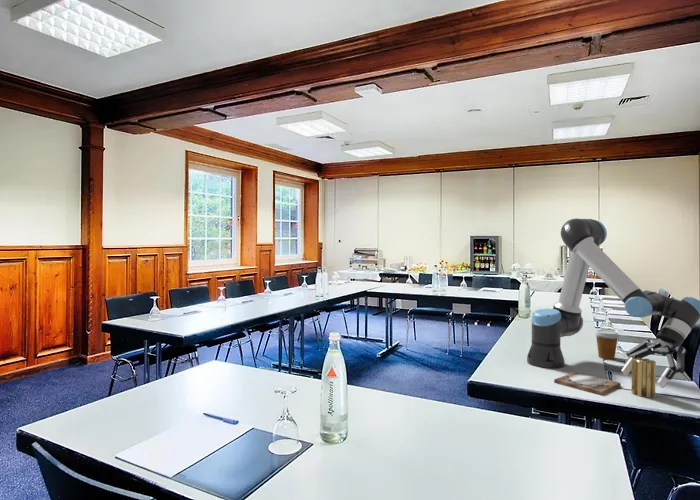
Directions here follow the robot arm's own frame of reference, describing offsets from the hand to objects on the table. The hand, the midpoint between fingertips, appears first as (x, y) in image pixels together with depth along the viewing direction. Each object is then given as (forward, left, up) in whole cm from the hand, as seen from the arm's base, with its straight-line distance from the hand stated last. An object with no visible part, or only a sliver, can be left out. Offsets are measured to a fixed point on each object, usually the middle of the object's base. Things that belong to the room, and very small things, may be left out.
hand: (641, 379), depth 156 cm
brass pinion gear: (0, +1, -6) cm, 6 cm away
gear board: (-17, -4, -6) cm, 18 cm away
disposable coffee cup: (-29, +42, -6) cm, 52 cm away
